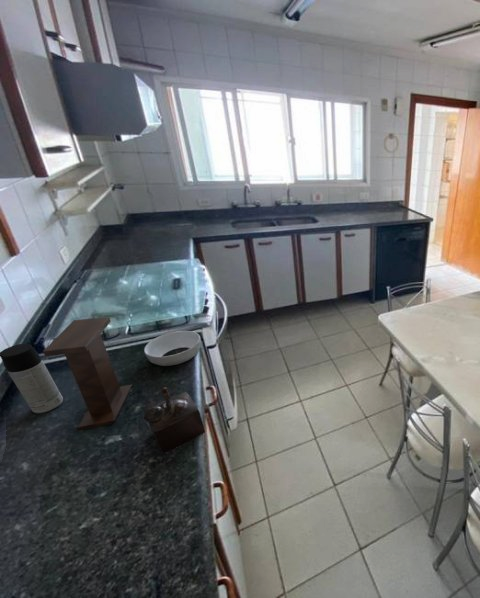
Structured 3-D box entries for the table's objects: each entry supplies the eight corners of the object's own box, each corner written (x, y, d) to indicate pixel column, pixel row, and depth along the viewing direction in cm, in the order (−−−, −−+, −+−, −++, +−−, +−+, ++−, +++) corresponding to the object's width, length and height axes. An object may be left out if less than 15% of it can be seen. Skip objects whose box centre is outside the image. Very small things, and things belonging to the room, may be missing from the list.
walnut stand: (79, 431, 89) (42, 351, 78) (102, 393, 103) (73, 320, 92) (115, 424, 92) (85, 346, 81) (133, 388, 105) (109, 316, 95)
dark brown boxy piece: (150, 435, 90) (127, 384, 82) (194, 414, 97) (178, 365, 89) (166, 472, 80) (143, 419, 72) (214, 445, 87) (198, 394, 79)
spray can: (59, 394, 100) (28, 339, 92) (68, 403, 97) (37, 347, 88) (29, 407, 95) (-7, 351, 86) (37, 417, 92) (1, 360, 83)
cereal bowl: (149, 379, 110) (143, 362, 107) (150, 354, 123) (144, 338, 119) (206, 363, 119) (202, 347, 116) (202, 341, 131) (197, 325, 128)
